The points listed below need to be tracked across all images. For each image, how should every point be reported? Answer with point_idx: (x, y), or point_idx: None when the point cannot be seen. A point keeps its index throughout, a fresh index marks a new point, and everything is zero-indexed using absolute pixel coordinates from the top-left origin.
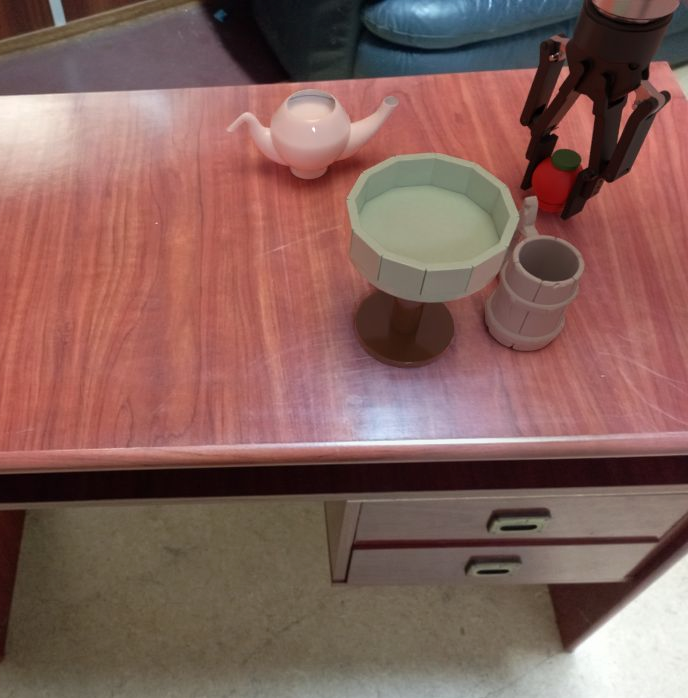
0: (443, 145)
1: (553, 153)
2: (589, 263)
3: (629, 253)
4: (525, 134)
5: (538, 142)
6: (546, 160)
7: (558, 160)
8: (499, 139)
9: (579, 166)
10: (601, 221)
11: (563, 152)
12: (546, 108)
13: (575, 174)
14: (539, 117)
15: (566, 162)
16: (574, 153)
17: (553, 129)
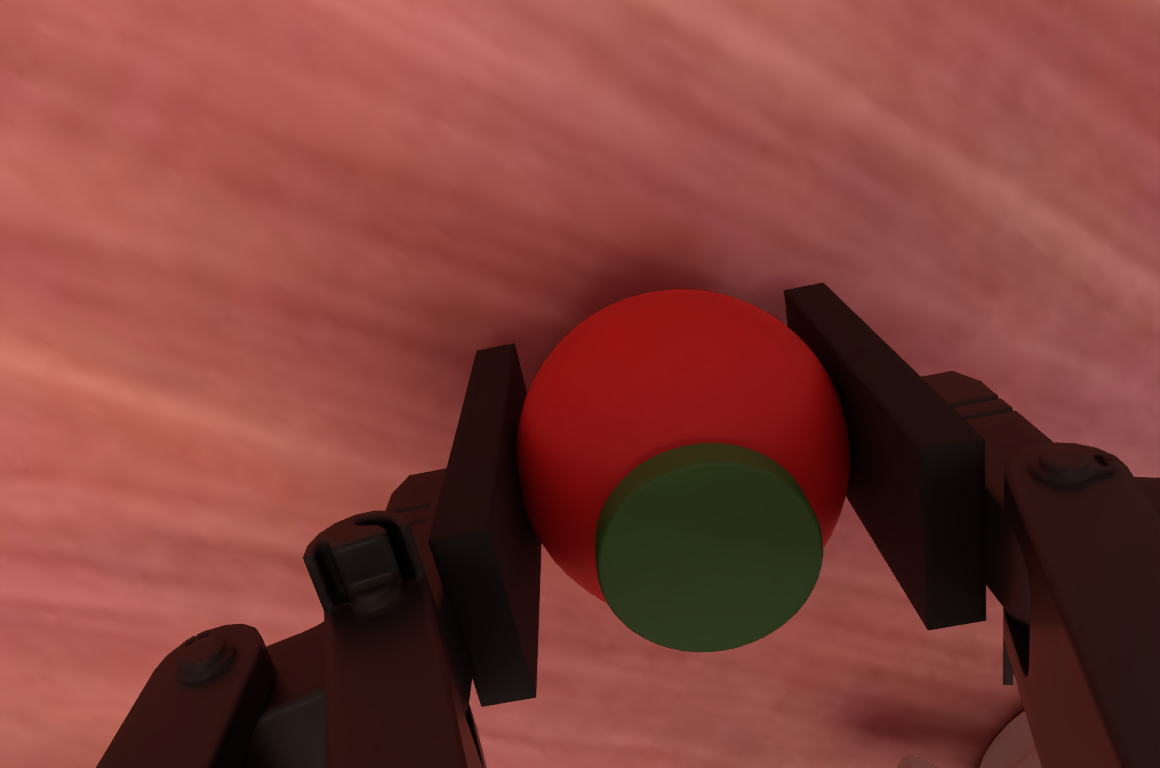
0: (12, 552)
1: (619, 616)
2: (1054, 388)
3: (1136, 168)
4: (3, 82)
5: (486, 688)
6: (589, 578)
7: (705, 628)
8: (21, 264)
9: (779, 452)
10: (879, 149)
11: (645, 550)
12: (229, 720)
13: (819, 505)
14: (299, 745)
15: (756, 597)
16: (697, 487)
17: (433, 602)
